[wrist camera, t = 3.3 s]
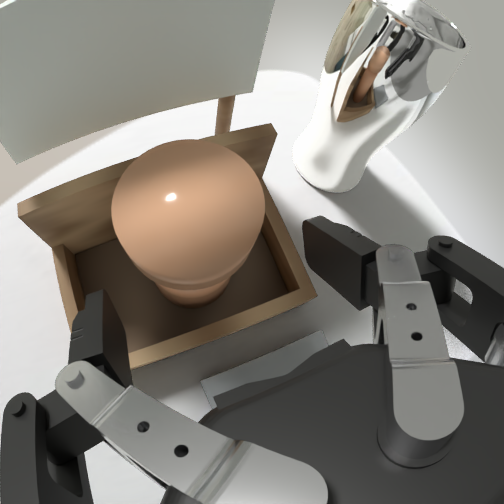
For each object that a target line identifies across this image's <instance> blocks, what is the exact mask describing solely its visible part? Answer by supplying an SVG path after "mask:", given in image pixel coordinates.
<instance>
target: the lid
mask: <svg viewBox="0 0 504 504" xmlns="http://www.w3.org/2000/svg"><path fill="white" fill-rule="evenodd" d="M274 2H275V0H8V1H6V2H4V3H2V4H0V142H1V143H2V145H3V146H4V147H5V149H6V150H7V152H8V153H9V154H10V156H11V157H12V159H13V160H14V161H15V163H16V164H18V163H21V162H23V161H25V160H27V159H29V158H31V157H34V156H36V155H38V154H41V153H43V152H45V151H48V150H50V149H52V148H55V147H57V146H60V145H62V144H65V143H67V142H70V141H72V140H75V139H78V138H80V137H83V136H86V135H88V134H91V133H94V132H97V131H100V130H103V129H105V128H108V127H111V126H114V125H118V124H121V123H124V122H127V121H130V120H134V119H137V118H140V117H144V116H147V115H151V114H154V113H158V112H162V111H166V110H169V109H173V108H177V107H181V106H186V105H190V104H194V103H199V102H203V101H208V100H213V99H218V98H223V97H228V96H233V95H239V94H245V93H251V92H253V88H254V83H255V79H256V75H257V71H258V66H259V62H260V58H261V53H262V49H263V45H264V41H265V37H266V33H267V29H268V25H269V21H270V17H271V13H272V9H273V5H274Z"/></svg>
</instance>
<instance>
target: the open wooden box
mask: <svg viewBox="0 0 504 504" xmlns="http://www.w3.org/2000/svg"><path fill="white" fill-rule="evenodd" d="M234 101H235V95H233V96H228V97H223V98H219V100H218V109H217V118H216V128H215V136H210V137H206V138H202V139H199V140H204V141H208V142H213V143H216V144H219V145H221V146H224V147H226V148H228V149H230V150H231V151H233V152H235V153H236V154H238V155H239V156H240V157H241V158H243V159H244V160H245V161H246V162H247V163H248V164H249V165H250V167H251V168H252V169H253V171H254V172H255V174H256V175H257V177H258V179H259V181H260V184H261V186H262V189H263V193H264V199H265V215H264V220H263V224H262V227H261V230H260V233H259V235H258V237H257V239H256V241H255V243H254V245H253V248H252V250H251V252H250V254H249V256H248V258H247V259H246V261H245V262H244V263H243V265H242V266H241V267H240V268H239V269H238V270H237V271H236V272H235V273H234V274H233V275H231V278H230V280H229V283H228V286H227V287H226V289H225V291H224V292H223V294H222V295H221V296H220V297H219V298H218V299H217V300H216V301H214V302H212V303H211V304H209V305H207V306H204V307H200V308H184V307H180V306H178V305H175V304H173V303H172V302H170V301H169V300H167V299H166V298H165V297H164V296H163V295H162V294H161V292H160V291H159V289H158V287H157V286H156V284H155V282H154V281H152V280H150V279H149V278H148V277H146V276H145V275H144V274H143V273H142V272H141V271H140V270H139V269H138V268H137V267H136V266H135V265H134V263H133V262H132V260H131V259H130V257H129V256H128V254H127V253H126V251H125V249H124V248H123V246H122V245H121V243H120V241H119V239H118V237H117V235H116V233H115V230H114V227H113V222H112V213H111V206H112V198H113V195H114V191H115V188H116V186H117V183H118V181H119V179H120V178H121V176H122V174H123V173H124V171H125V170H126V169H127V168H128V166H129V165H130V164H131V163H132V162H133V161H134V160H135V159H137V158H138V157H136V158H133V159H130V160H127V161H124V162H121V163H118V164H115V165H112V166H109V167H106V168H104V169H101V170H98V171H95V172H93V173H90V174H87V175H84V176H82V177H79V178H77V179H74V180H71V181H69V182H66V183H64V184H61V185H59V186H56V187H54V188H52V189H49V190H47V191H45V192H42V193H40V194H38V195H35V196H33V197H31V198H29V199H26V200H24V201H22V202H20V203H18V204H17V206H18V217H19V218H20V219H21V220H22V221H23V222H24V223H25V224H26V225H27V226H28V227H29V228H30V229H31V230H32V231H34V232H35V233H36V234H37V235H38V236H39V237H40V238H41V239H42V240H43V241H45V242H46V243H47V244H48V245H49V246H50V247H51V248H52V252H53V258H54V263H55V269H56V274H57V279H58V283H59V288H60V292H61V297H62V301H63V305H64V309H65V313H66V317H67V321H68V324H69V328H70V331H71V330H72V322H73V320H74V318H75V317H76V315H77V313H78V312H79V311H82V310H85V301H86V295H88V294H90V293H93V292H96V291H99V290H102V289H105V290H106V291H107V293H108V295H109V297H110V299H111V301H112V303H113V305H114V307H115V310H116V312H117V314H118V316H119V318H120V320H121V322H122V324H123V326H124V329H125V333H126V338H127V346H128V354H129V362H130V369H131V370H133V369H136V368H139V367H142V366H145V365H148V364H150V363H153V362H156V361H159V360H162V359H165V358H168V357H171V356H173V355H176V354H179V353H182V352H185V351H187V350H190V349H193V348H195V347H198V346H201V345H204V344H206V343H209V342H211V341H214V340H217V339H219V338H222V337H225V336H227V335H230V334H232V333H235V332H237V331H240V330H242V329H245V328H247V327H250V326H252V325H255V324H257V323H260V322H262V321H265V320H267V319H269V318H272V317H274V316H277V315H279V314H281V313H284V312H286V311H288V310H291V309H293V308H295V307H298V306H300V305H302V304H305V303H306V302H308V301H310V300H312V299H313V298H315V297H317V294H316V291H315V289H314V287H313V285H312V283H311V280H310V278H309V276H308V274H307V272H306V269H305V267H304V265H303V263H302V261H301V259H300V256H299V254H298V252H297V250H296V248H295V246H294V243H293V241H292V239H291V237H290V235H289V233H288V231H287V229H286V226H285V224H284V222H283V220H282V218H281V216H280V214H279V212H278V210H277V208H276V206H275V204H274V201H273V199H272V197H271V195H270V193H269V191H268V189H267V187H266V185H265V183H264V181H263V179H262V176H263V173H264V171H265V168H266V165H267V162H268V159H269V156H270V154H271V151H272V148H273V145H274V142H275V139H276V137H277V132H276V131H275V129H274V127H273V125H272V124H271V123H270V124H264V125H259V126H254V127H250V128H245V129H240V130H236V131H231V132H229V131H230V125H231V119H232V113H233V107H234ZM71 333H72V331H71Z"/></svg>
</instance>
